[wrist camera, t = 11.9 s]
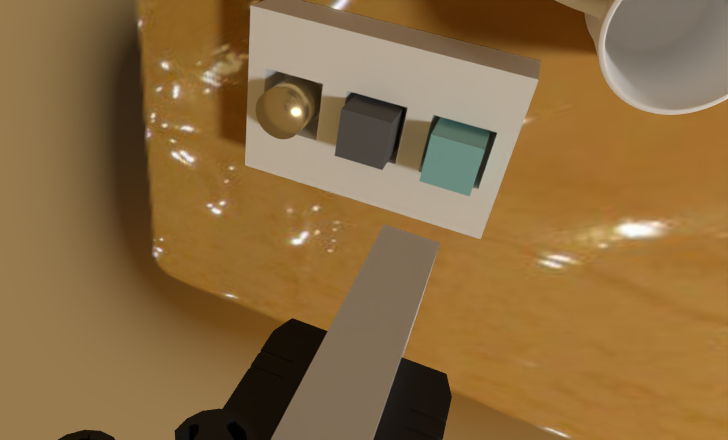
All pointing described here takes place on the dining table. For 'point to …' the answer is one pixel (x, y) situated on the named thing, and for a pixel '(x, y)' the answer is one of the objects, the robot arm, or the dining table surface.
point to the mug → (661, 51)
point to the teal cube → (454, 156)
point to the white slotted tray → (391, 84)
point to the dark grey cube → (369, 131)
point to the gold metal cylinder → (288, 107)
